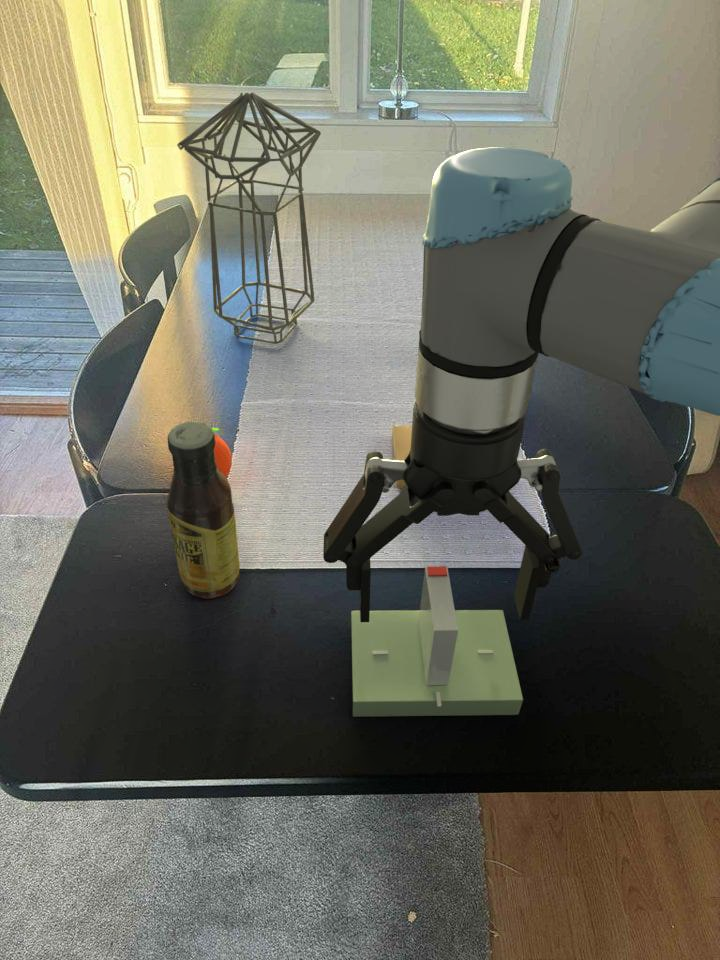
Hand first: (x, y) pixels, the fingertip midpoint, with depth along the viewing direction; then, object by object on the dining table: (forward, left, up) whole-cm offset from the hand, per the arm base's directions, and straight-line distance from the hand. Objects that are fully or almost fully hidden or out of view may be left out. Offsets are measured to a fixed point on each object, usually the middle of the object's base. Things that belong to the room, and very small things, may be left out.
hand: (442, 608), depth 60 cm
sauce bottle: (+23, +9, -9) cm, 27 cm away
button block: (+20, -24, -9) cm, 33 cm away
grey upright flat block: (0, 0, -7) cm, 7 cm away
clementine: (+37, 0, -9) cm, 38 cm away
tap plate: (0, 0, -9) cm, 9 cm away
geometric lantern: (+62, -28, -9) cm, 69 cm away
